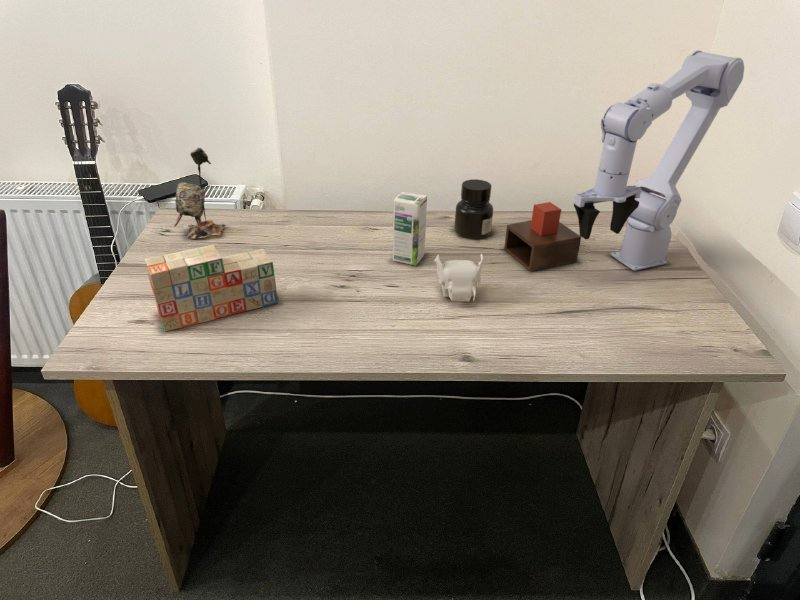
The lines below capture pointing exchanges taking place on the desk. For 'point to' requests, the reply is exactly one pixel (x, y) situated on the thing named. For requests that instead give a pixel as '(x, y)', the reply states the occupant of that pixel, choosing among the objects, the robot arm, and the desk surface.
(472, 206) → the ink bottle
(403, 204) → the syrup box
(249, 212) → the desk surface
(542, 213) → the block
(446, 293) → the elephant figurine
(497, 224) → the desk surface
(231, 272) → the stack of blocks
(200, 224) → the brown bird figurine
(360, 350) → the desk surface
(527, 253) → the brown open wooden box
